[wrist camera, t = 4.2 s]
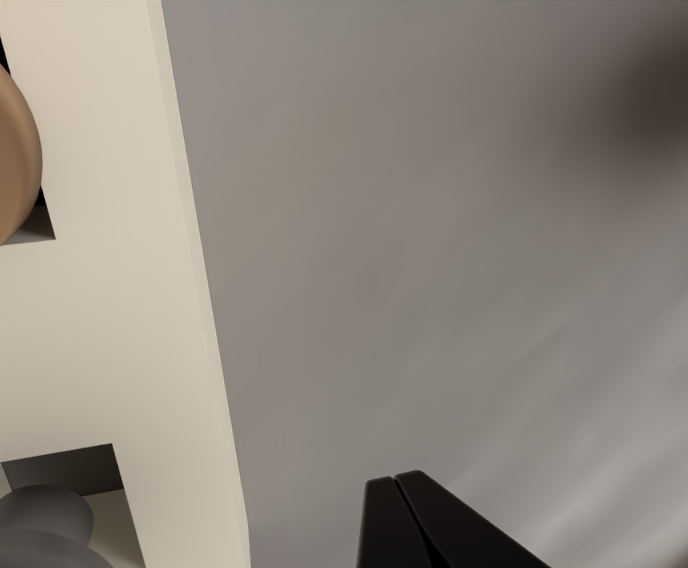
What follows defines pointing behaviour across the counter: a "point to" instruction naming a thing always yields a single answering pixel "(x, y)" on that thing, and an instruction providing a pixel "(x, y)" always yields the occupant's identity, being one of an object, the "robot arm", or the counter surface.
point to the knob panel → (116, 290)
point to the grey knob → (46, 529)
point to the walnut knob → (17, 158)
